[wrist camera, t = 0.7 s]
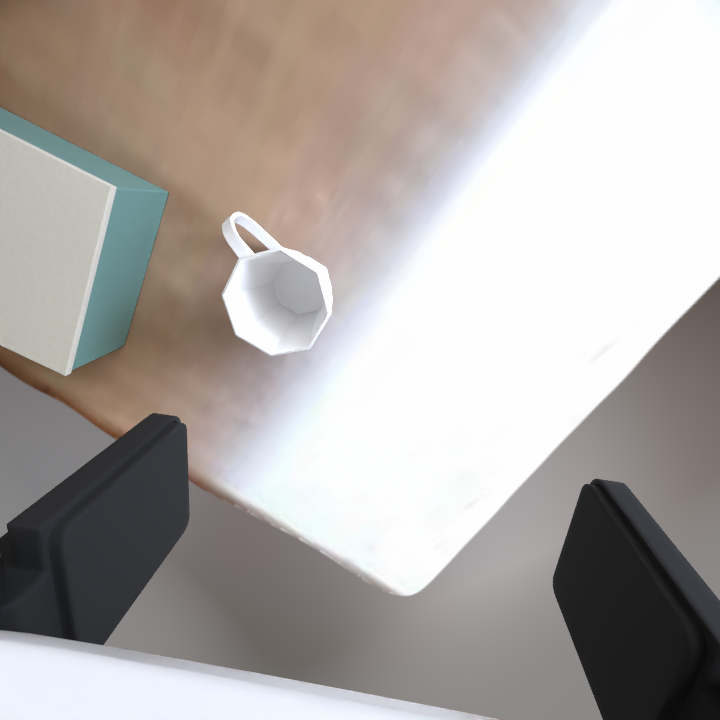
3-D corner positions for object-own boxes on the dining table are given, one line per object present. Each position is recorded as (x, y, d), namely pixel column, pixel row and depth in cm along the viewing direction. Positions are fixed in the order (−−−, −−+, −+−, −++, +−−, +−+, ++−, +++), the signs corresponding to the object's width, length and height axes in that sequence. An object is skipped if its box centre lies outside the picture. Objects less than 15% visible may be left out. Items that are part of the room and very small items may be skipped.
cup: (298, 342, 36) (269, 377, 28) (220, 242, 34) (166, 251, 26) (366, 294, 34) (353, 318, 26) (287, 185, 32) (249, 177, 24)
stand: (-27, 91, 32) (-141, 60, 26) (171, 191, 33) (111, 186, 26) (-48, 265, 37) (-148, 277, 30) (125, 349, 38) (64, 378, 31)
